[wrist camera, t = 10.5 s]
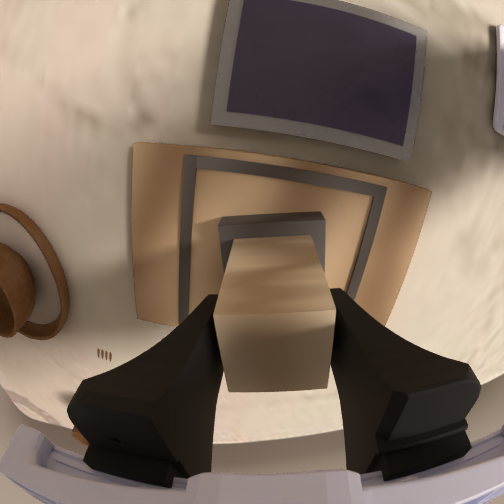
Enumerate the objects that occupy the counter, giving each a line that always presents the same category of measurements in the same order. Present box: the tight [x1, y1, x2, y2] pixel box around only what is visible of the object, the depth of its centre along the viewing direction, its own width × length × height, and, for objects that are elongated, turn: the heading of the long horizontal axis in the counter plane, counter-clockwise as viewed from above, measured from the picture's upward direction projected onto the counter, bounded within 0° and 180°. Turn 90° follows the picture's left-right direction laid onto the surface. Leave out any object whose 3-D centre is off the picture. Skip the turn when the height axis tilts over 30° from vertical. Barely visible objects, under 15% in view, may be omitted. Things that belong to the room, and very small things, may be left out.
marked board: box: [132, 143, 432, 327], centre depth 16 cm, size 16×11×1 cm
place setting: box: [0, 204, 111, 446], centre depth 18 cm, size 18×20×6 cm
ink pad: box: [210, 0, 427, 162], centre depth 12 cm, size 10×8×1 cm
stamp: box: [213, 211, 336, 392], centre depth 13 cm, size 5×5×8 cm
